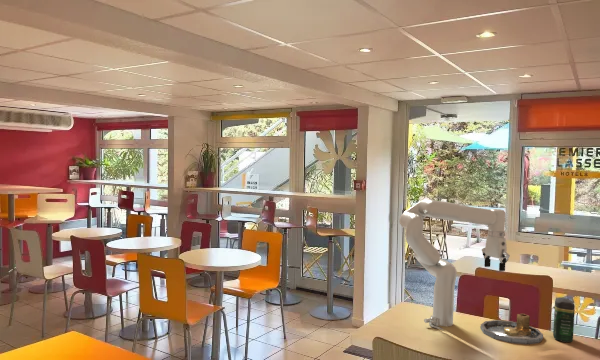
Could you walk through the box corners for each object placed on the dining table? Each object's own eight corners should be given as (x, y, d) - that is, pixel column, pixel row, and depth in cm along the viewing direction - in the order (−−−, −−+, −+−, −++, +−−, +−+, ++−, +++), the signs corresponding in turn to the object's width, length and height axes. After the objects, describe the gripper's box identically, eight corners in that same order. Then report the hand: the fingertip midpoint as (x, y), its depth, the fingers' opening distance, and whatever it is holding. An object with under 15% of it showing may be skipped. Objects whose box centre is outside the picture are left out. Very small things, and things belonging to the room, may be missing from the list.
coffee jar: (574, 344, 207) (576, 303, 207) (554, 341, 210) (556, 300, 210) (570, 337, 216) (572, 297, 216) (551, 334, 219) (553, 295, 219)
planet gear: (522, 335, 212) (523, 318, 212) (511, 330, 218) (512, 313, 218) (534, 334, 214) (534, 316, 214) (522, 329, 221) (523, 312, 221)
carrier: (510, 350, 197) (511, 335, 197) (469, 330, 221) (470, 316, 221) (554, 344, 206) (555, 329, 206) (510, 325, 230) (511, 312, 230)
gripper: (515, 236, 221) (514, 272, 222) (489, 231, 237) (487, 264, 238) (503, 237, 218) (501, 273, 219) (477, 231, 235) (476, 265, 235)
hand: (494, 268), depth 228 cm, fingers open, 9 cm apart
